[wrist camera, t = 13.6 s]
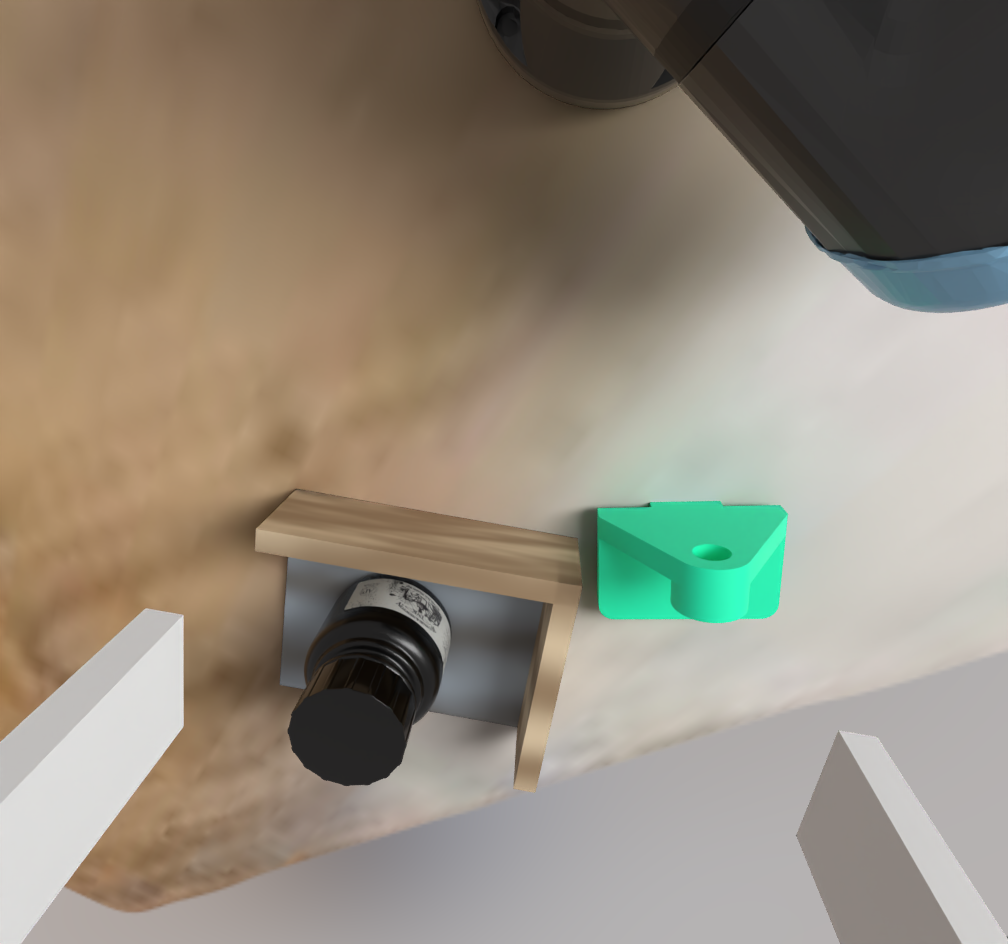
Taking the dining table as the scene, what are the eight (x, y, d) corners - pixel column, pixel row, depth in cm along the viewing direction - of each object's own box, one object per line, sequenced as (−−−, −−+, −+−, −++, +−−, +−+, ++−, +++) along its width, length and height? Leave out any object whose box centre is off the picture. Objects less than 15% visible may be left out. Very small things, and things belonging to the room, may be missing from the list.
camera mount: (596, 600, 49) (607, 688, 40) (596, 502, 47) (609, 571, 37) (765, 599, 48) (820, 689, 39) (775, 499, 46) (835, 568, 36)
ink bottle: (481, 631, 50) (462, 747, 38) (401, 700, 52) (360, 829, 41) (382, 543, 48) (331, 638, 36) (304, 618, 50) (233, 730, 39)
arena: (296, 488, 48) (255, 529, 41) (577, 538, 48) (582, 586, 41) (283, 678, 53) (245, 741, 46) (536, 723, 53) (535, 792, 46)
